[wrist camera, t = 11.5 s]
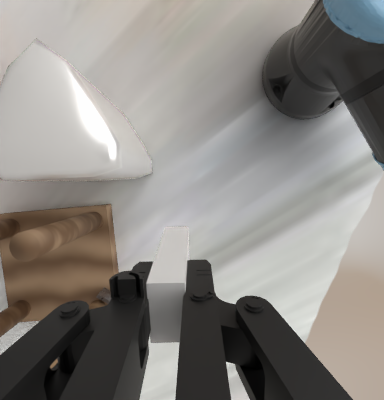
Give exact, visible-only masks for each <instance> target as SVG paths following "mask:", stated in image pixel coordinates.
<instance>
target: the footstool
mask: <svg viewBox="0 0 384 400" xmlns="http://www.w3.org/2000/svg"><path fill="white" fill-rule="evenodd" d="M0 253H1V260H2V266H3V273H4V280H5V287H6V294H7V301H8V308H7V309H5V310H4V311H2V312H1V313H0V337H1V336H2V335H4V334H5V333H6V332H7V331H9V330H10V329H11V328H12V327H14V326H15V325H16V324H18V323H19V322H28V321H41V320H42V319H44V318H45V317H46V316H47V315H48V314H49V313H51V312H52V311H53V310H54V309H55V308H57V307H58V306H60V305H62V304H64V303H67V302H69V301H75V300H81V301H84V302H87V304H88V305H90V303H91V302H92V301H94V300H100V299H98V298H96V297H97V295H98V294H99V293H100V291H101V290H102V289H103V288H104V287H105V288H107V289H109V290H110V285H109V279H110V278H111V277H112V276H114V275H115V274H117V273H119V272H118V263H117V254H116V245H115V236H114V227H113V218H112V209H111V204H106V205H95V206H83V207H72V208H60V209H49V210H37V211H26V212H14V213H4V214H0ZM106 305H108V304H107V303H106Z"/></svg>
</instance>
